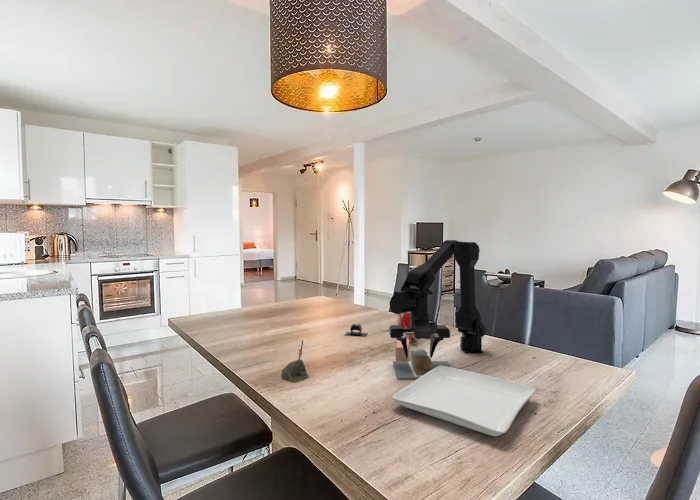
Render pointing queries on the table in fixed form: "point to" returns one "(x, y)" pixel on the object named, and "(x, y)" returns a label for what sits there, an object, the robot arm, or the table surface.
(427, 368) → the walnut cube
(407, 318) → the soda can
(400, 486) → the table surface
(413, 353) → the green cube
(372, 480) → the table surface
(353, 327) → the black angular block
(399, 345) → the cap block
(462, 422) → the square plate
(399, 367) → the mat
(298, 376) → the sword in stone
